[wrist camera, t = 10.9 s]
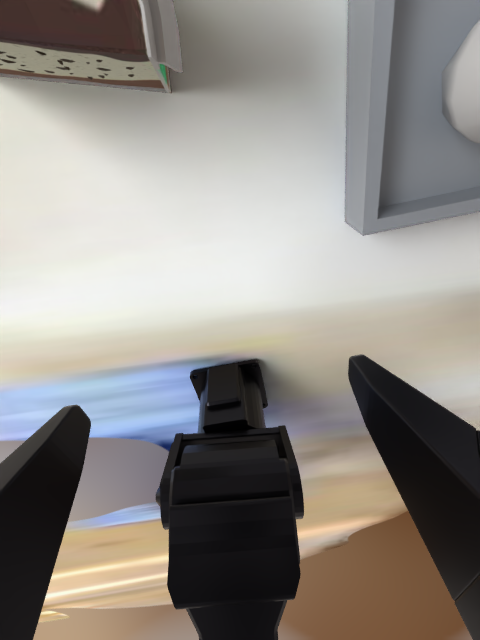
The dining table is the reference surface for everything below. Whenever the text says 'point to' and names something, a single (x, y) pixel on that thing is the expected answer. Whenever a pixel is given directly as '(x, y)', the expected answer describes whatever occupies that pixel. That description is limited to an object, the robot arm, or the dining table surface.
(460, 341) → the dining table surface
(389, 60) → the bin
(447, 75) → the salt shaker
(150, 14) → the food container
